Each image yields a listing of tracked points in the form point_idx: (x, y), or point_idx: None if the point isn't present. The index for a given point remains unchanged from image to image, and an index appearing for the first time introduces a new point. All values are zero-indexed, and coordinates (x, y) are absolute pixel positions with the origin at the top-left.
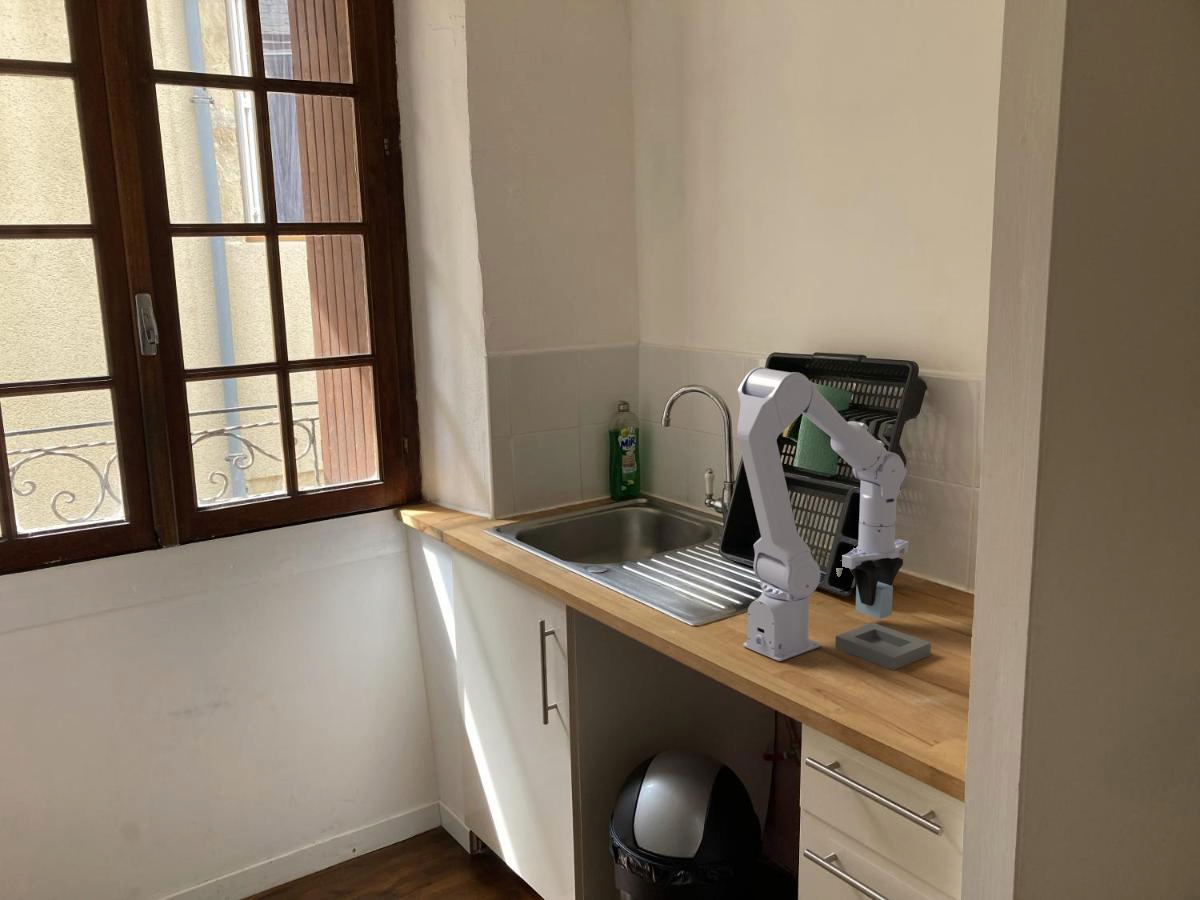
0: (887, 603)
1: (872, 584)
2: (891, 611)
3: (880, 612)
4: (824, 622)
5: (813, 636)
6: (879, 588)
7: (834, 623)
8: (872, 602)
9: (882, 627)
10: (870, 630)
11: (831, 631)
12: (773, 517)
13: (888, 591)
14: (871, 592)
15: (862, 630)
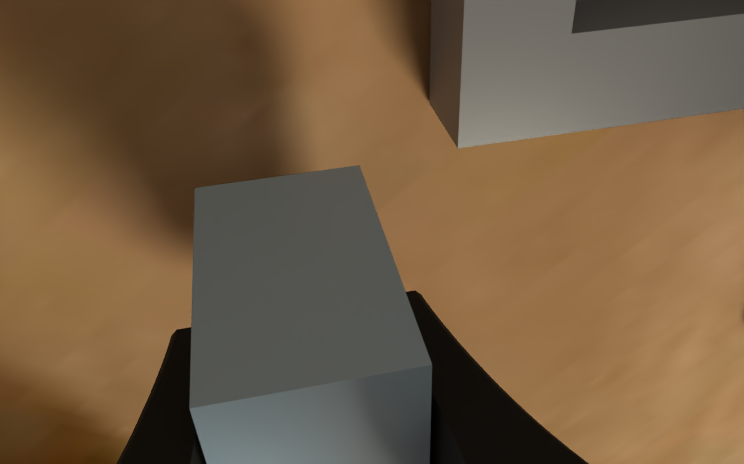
0: (272, 256)
1: (559, 448)
2: (201, 206)
3: (368, 200)
4: (485, 356)
5: (700, 244)
6: (405, 403)
7: (456, 329)
8: (414, 308)
9: (492, 22)
10: (620, 30)
11: (572, 254)
12: None
13: (279, 351)
14: (489, 380)
15: (664, 65)
